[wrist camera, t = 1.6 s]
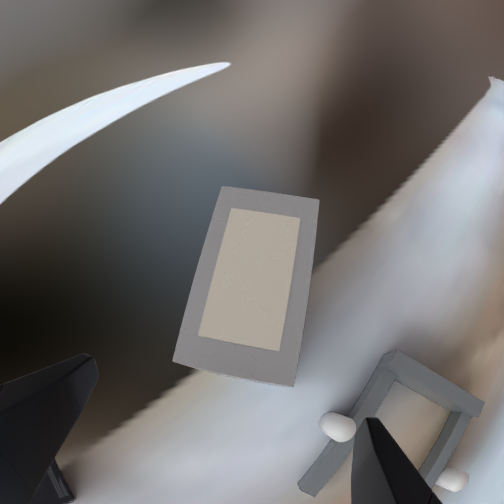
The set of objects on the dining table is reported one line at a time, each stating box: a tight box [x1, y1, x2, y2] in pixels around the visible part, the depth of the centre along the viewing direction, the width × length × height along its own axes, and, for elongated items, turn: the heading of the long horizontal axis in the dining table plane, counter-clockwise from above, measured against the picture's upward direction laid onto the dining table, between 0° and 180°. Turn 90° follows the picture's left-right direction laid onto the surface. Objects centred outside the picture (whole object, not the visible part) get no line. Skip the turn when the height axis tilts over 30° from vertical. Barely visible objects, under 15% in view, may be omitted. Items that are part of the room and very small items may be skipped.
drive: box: [173, 186, 319, 387], centre depth 16 cm, size 8×4×10 cm, turn 169°
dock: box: [297, 350, 485, 497], centre depth 14 cm, size 11×13×4 cm
